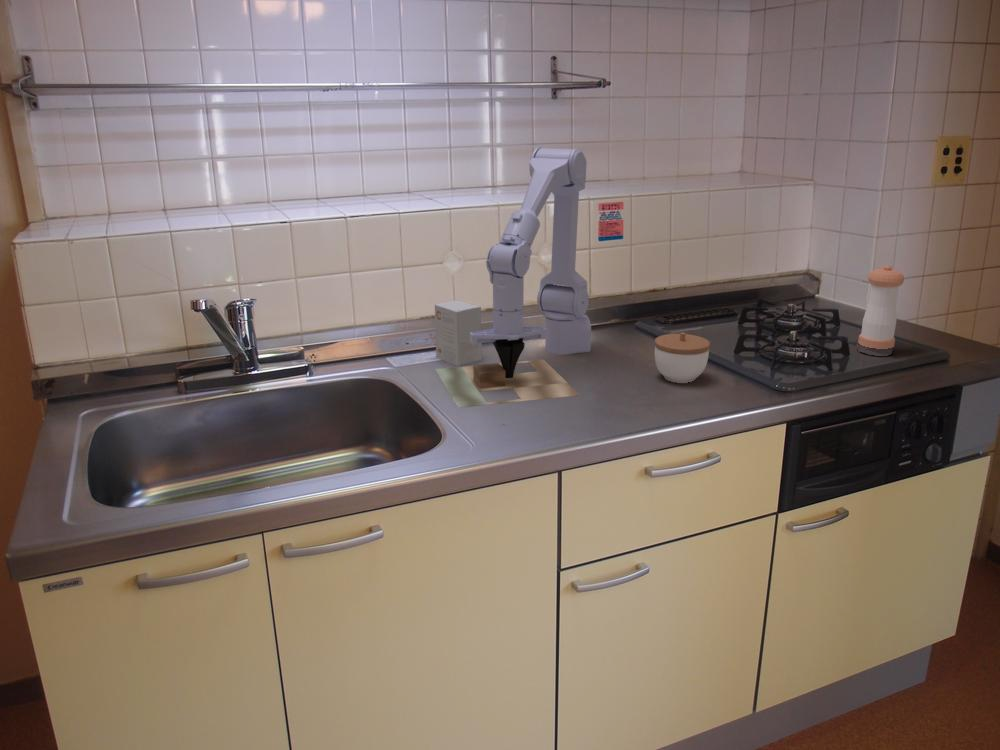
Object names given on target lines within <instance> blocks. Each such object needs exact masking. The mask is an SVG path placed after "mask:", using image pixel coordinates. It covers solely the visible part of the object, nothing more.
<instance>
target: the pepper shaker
mask: <svg viewBox="0 0 1000 750" xmlns="http://www.w3.org/2000/svg"><path fill="white" fill-rule="evenodd" d="M867 280H868V282H869V284H870V291H869V296H868V301H867V305H866V309H865V311H864V312H865V313H864V316H863V318H862V324H861V325H862V326H861V333H860V334H859V335H858V341H857V344H858V343H859V344H860V345H862V346H865V347H869V348H876V349H888V348H892V347H894V348H895V343H896V337H895V331H896V325H897V301H898V294H899V288H900V287H901V286H903V283H905V275H904V274H903V272H901V271H900V270H897V269H894V268H892V265H884V266H883V268H882V267H881V268H876V269H873V270H871V271H870V273H869V275H868V276H867Z"/></svg>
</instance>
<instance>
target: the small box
mask: <svg viewBox="0 0 1000 750" xmlns="http://www.w3.org/2000/svg"><path fill="white" fill-rule="evenodd" d="M481 307H482V306H479V305H475V304H472V303H469V302H465V301H462V300H459V299H456V300H452V301H445V302H440V303H435V304H434V324H435V326H434V329H435V357H436V358H437V359H439V360H442V361H444V362H446V363H449V364H451V365H454V366H455V367H463V366H466V365H469V364H473V363H477V362H481V361H483V356H482V355H483V354H482V352H483V351H482V344H483V343H478V344H477V345H472V344H471V342H470V332H478V331H482V308H481Z"/></svg>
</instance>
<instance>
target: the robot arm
mask: <svg viewBox="0 0 1000 750" xmlns="http://www.w3.org/2000/svg"><path fill="white" fill-rule="evenodd" d="M587 163H588V162H587V158H586V157H585V154H584V152H583V151H582V149H581V148H552V147H551V148H549V147H548V148H547V147H546V148H545V147H542V146H540V147H539V146H538V147H536V148H535V149H534V150H533V152H532V154H531V156H530V158H529V163H528V165H529V167H528V168H529V174H530V176H529V177H530V180H529V184H528V186H527V190H526V192H525V195H524V197H523V201H522V204H521V207H520V209H518V210H516V211H513V212H512V214H511V216H510V218H509V220H508V223H507V225H506V226H505V229H504V231H503V233H502V236H501V237H500V240H499V242H498V243H496V244H495V245H493V246H491V247H490V249H489V250H488V253H487V256H486V257H487V258H486V260H485V264H486V265H485V266H486V269H487V272H488V273H489V282H490V284H492V321H493V322H492V325H493V326H492V328H490V329H484V330H481V331H478V332H470V342H471V344H472V345H477V344H478V343H482V344H483V343H484V344H485V343H487V344H488V343H492V345H493V346H494V348H495V350H496V352H497V355H498V358H499V361H500V363H501V364H502V365H501V367H502V368H503V369H504V370H505V378H513V375H514V374H515V371H516V366H517V365H518V364H517V362H519V358H520V356H521V354H522V353H523V351H524V349H525V346H526V345H525V344H526V343H525V342H524V340H535V339H536V340H537V339H540V340H545V342H544V343H545V351H546V352H547V353H548V354H552V355H559V356H560V355H561V356H565V355H573V354H579V353H581V354H582V353H590V352H591V349H592V325H591V320H590V318H589V316H588V315H587V314H586V312H587V310H588V308H589V300H590V298H589V297H590V296H589V292H588V281H587V280H586V279H585V278H584V277H583V276H582V275H581V274H579V272H577V270H576V260H577V259H576V257H577V243H578V242H577V240H578V239H577V236H578V219H579V218H578V217H579V199H580V197H579V195H580V192H581V191H583V190H585V189H586V183H587V182H586V181H587V179H586V178H587ZM551 193H552V195H553V196H554V197H553V217H552V218H553V219H552V221H553V222H552V243H551V245H552V246H551V248H552V249H551V267H550V268H551V269H550V272H548V273H547V274H545V275H544V276H543V277H541V279H540V283H539V284H540V285H539V290H538V292H537V298H536V302H537V307H538V308H539V309H538V310H539V311H540V312H542V317H545V327H544V326H524V289H525V288H524V283H525V282H524V277H525V275H526V274H527V272H528V271H529V269H530V263H531V255H532V251H533V250H532V245H533V243H534V240H535V239H536V235H537V234H538V231H539V229H540V227H541V223H540V220H539V218H538V217H539V215H540V213H541V212H542V210H543V208H544V206H545V204H546V202H547V201H548V199H549V197H550V195H551Z"/></svg>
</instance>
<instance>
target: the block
mask: <svg viewBox="0 0 1000 750" xmlns="http://www.w3.org/2000/svg"><path fill="white" fill-rule="evenodd" d="M472 366H473V374H474V381H475V383H476V384H477V385H478V386H479V388H490V387H500V386H505V370H504V369H503V368H502V365H500V364H499V362H495V363H484V364H473V365H472Z"/></svg>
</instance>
